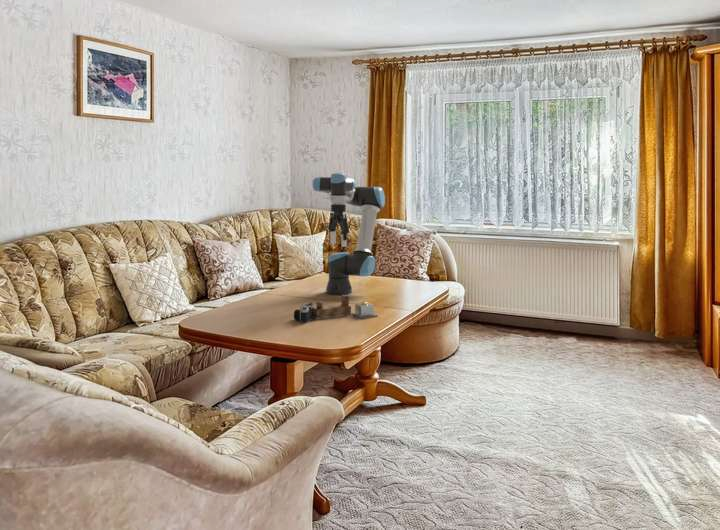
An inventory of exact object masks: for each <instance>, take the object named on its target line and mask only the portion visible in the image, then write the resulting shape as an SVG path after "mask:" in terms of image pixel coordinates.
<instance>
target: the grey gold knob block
mask: <svg viewBox="0 0 720 530" xmlns="http://www.w3.org/2000/svg"><path fill="white" fill-rule="evenodd" d="M354 313H355V314H357V315H359V316H369V315H374V314H375V304H373V303H370V302H368V301H362V302H358V303H357V302H356V303H354Z"/></svg>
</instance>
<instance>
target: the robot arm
mask: <svg viewBox="0 0 720 530" xmlns="http://www.w3.org/2000/svg"><path fill="white" fill-rule="evenodd" d="M311 185H312V189H313V191H315V192H319V193H320V192H323V193H325V194H328V195H330V203H331V204H330V211H331V212H330V219H329V223H328V228H327V229H328V231H329V233H330V234H329V235H330V238H329V241H330V245H334V244H335V245H336V243H337V241H336V240H337V237H336V236H337V235H336V234H337V232H336V231H337V229H336V228H337V226H338V224H339V228H340V230H341V233H340V234H341V248H343V247H348V233H350V229H349V224H348V220H347V219H348V218H347V214H346V213H344V212H346V209H347V207H346V204H348V205H350V206H353V207H354V206H355V207H360V209H361V211H362V212H361V218H360V224H359V230H358V236H357V243H356V248H355V249H354V250H353V251H352V254H350V253H349V252H348V251H343V252H336V253H334V252H333V253H332V254H330V255H329V256H328V281H327V283H326V284H327V285H326V288H325V293H326V294H328V295H333V296H334V295H335V296H336V295H338V296H340V295H341V296H342V295H348V294H351V293H352V292H353V288H352V285H351V281H350V276H354V277H356V276H357V277H370V276H371V275H372V274H373V273H374V270H375V268H376V258H375V257H374V254H373V252H372V246H373V240H374V235H375V234H374V233H375V229H376V228H375V227H376V221H377V215H378V213H379V212H381V208H384V207H385V204H386V196H385V192H384V190H383V188H382V187H380V186H356V181H355V179H354V178H353V177H349V176H346V174H345V173H331V175H330V177H329V176H328V177H324V176H323V177H321V176H319V177H318V176H317V177H314V178H313V179H312V184H311Z"/></svg>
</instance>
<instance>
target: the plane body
mask: <svg viewBox="0 0 720 530" xmlns="http://www.w3.org/2000/svg"><path fill="white" fill-rule="evenodd" d="M349 298H350V297H349V295H348V294H343V295H341V304H336V305H328V306H323V302H324V301H317V302H316V306H315V307H313V318H312V319H315V320H323V319H333V318H339V317H347V316H353V315H352V306H351V305H349V304H350V303H349V301H350V299H349Z"/></svg>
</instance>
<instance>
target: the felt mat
mask: <svg viewBox="0 0 720 530" xmlns="http://www.w3.org/2000/svg"><path fill="white" fill-rule="evenodd" d="M351 314H352V315H351V316H355V318H358V319H361V320H362V319H369V318H377V317H378V315H377V314H375V313H374V315H369V316H359V315H357V314H355V312H351Z"/></svg>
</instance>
